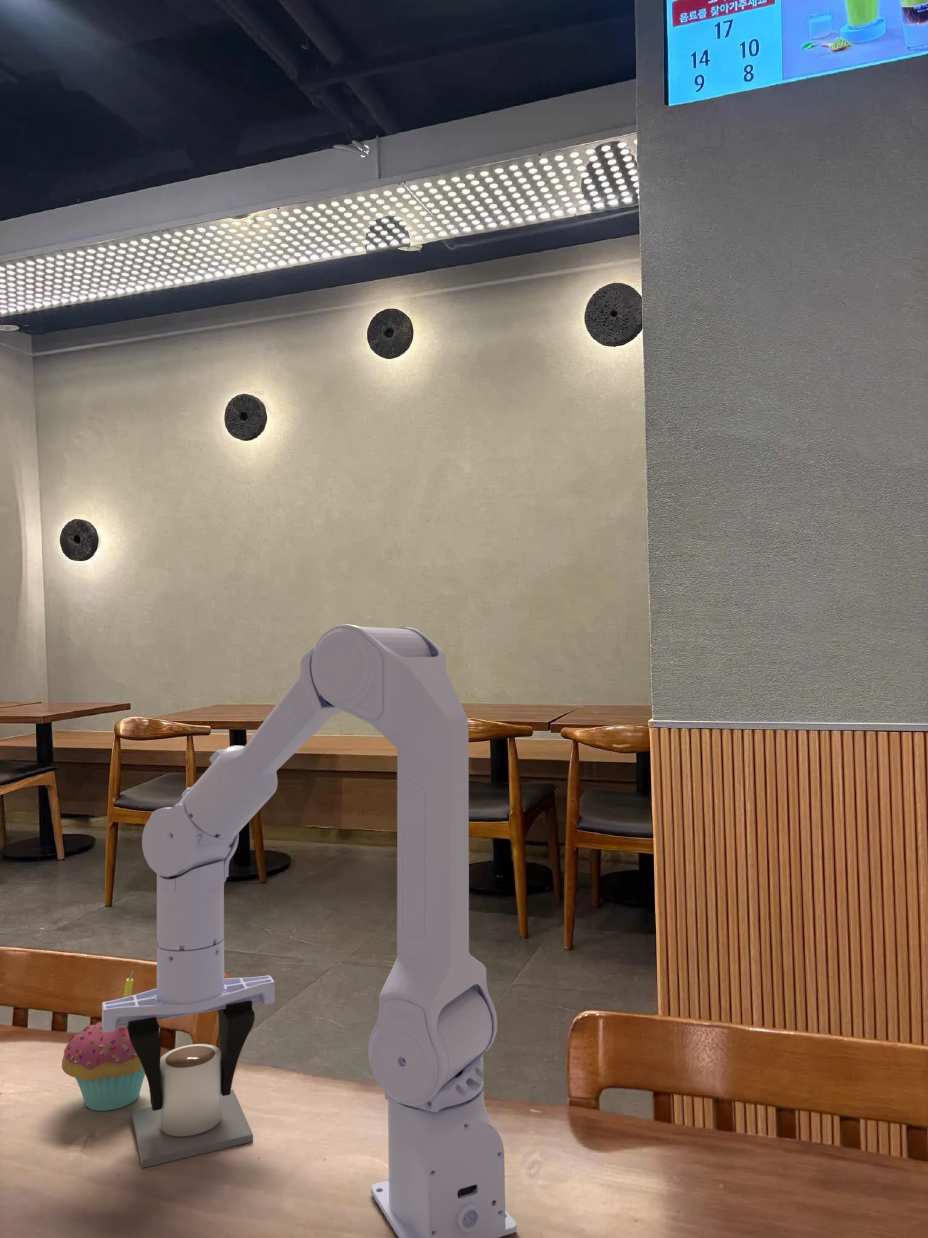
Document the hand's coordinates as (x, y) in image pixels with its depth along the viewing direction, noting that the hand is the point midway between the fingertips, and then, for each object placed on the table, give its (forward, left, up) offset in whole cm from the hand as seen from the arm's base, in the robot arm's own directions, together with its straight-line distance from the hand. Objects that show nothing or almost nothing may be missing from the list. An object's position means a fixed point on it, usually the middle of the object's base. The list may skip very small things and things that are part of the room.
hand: (190, 1098), depth 79 cm
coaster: (0, 0, -3) cm, 3 cm away
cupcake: (+9, +6, -3) cm, 11 cm away
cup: (0, 0, -2) cm, 2 cm away
